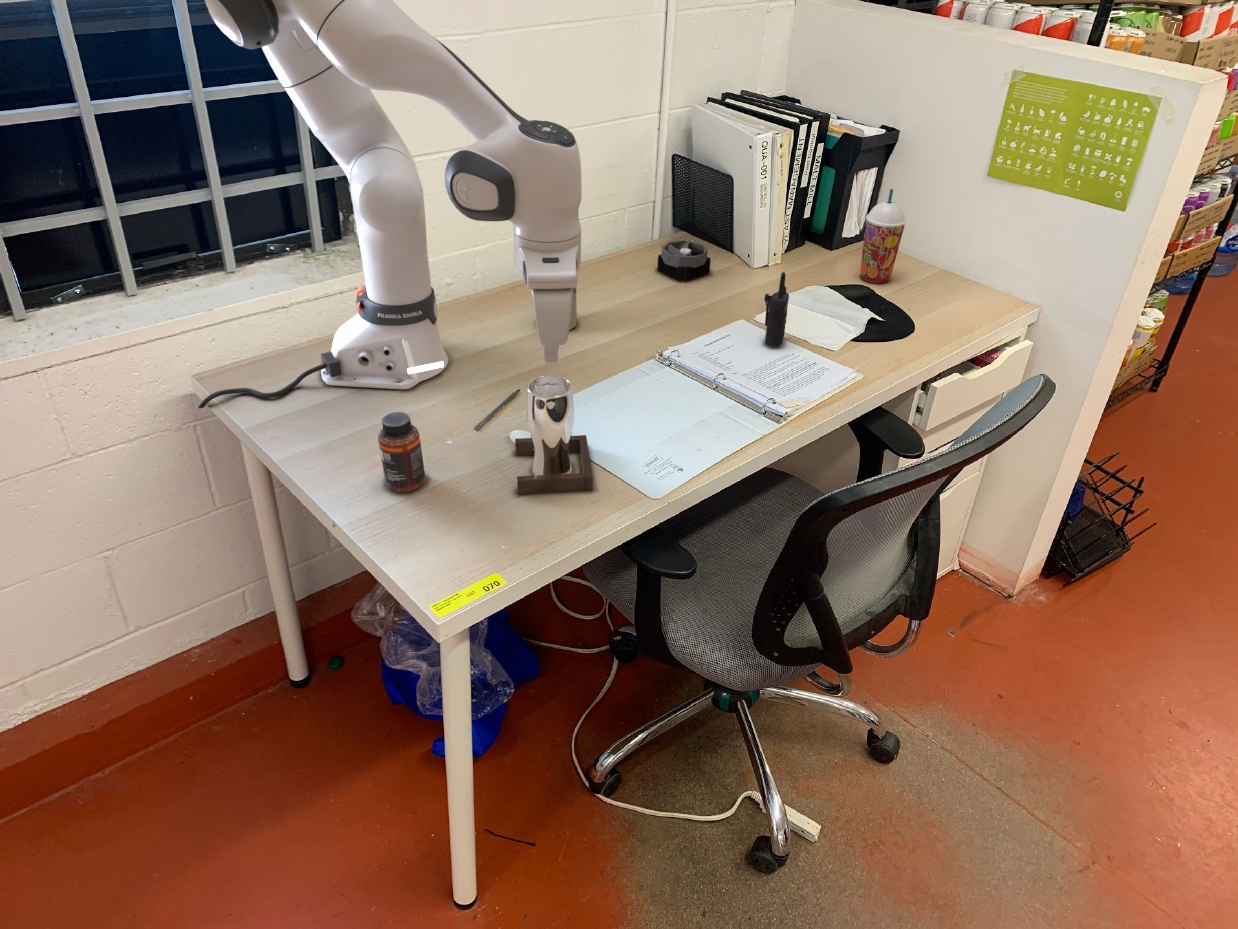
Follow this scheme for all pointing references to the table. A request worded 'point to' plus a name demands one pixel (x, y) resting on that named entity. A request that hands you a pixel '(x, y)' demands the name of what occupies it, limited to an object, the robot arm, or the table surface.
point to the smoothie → (881, 240)
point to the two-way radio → (776, 314)
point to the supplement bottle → (401, 453)
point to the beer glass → (550, 423)
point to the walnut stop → (557, 480)
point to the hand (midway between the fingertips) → (548, 344)
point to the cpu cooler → (684, 260)
